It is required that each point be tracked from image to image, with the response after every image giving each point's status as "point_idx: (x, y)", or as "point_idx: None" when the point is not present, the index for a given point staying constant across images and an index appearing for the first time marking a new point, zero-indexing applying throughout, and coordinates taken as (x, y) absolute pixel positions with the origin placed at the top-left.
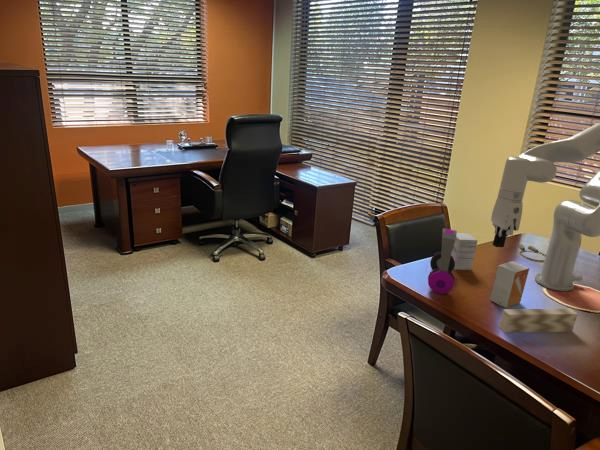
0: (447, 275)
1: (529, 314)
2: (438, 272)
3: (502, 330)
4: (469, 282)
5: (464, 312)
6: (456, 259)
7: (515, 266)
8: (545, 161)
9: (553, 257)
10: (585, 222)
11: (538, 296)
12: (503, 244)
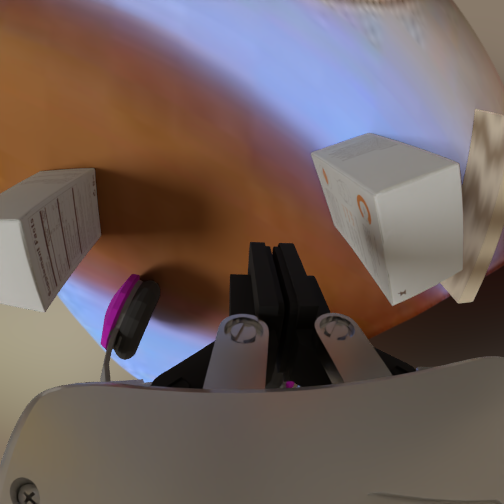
0: (292, 383)
1: (492, 255)
2: None
3: None
4: (201, 227)
5: (367, 320)
6: (85, 253)
7: (431, 232)
8: None
9: None
10: None
11: (331, 26)
12: (295, 259)
